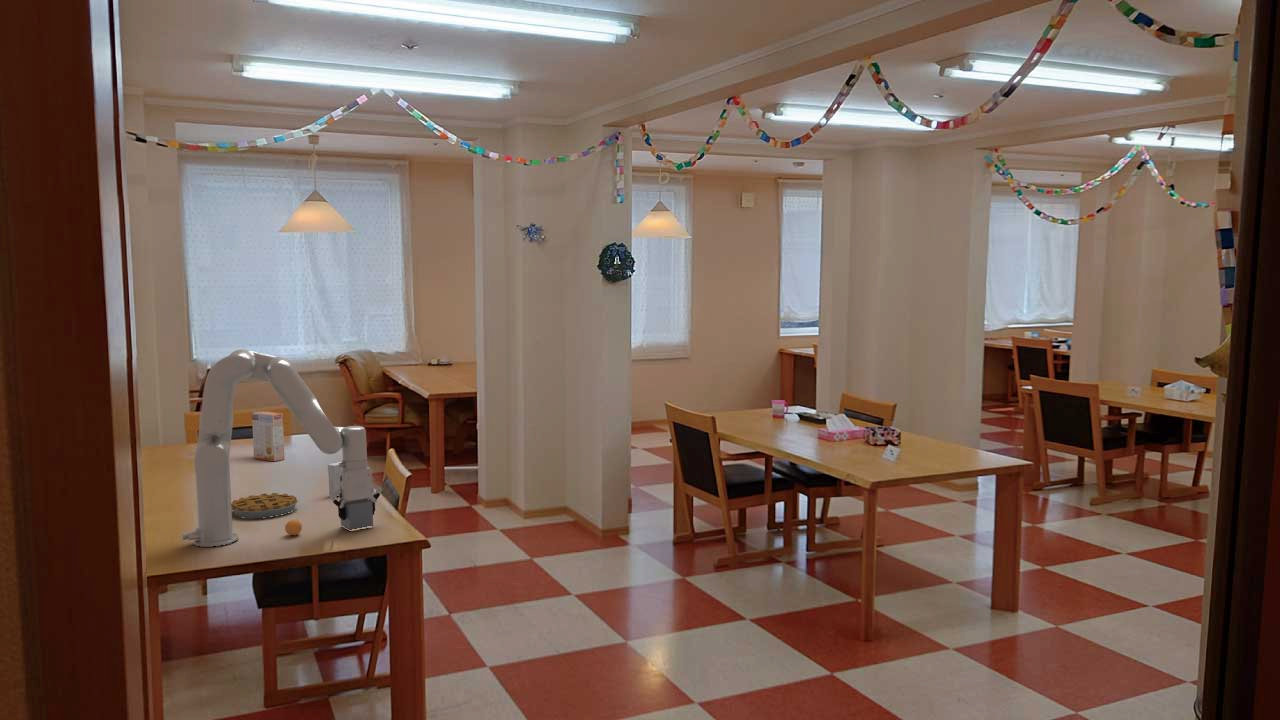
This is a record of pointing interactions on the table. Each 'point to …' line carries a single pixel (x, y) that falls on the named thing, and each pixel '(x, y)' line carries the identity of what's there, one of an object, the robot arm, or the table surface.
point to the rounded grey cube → (358, 514)
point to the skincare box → (334, 477)
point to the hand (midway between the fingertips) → (357, 516)
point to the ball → (293, 527)
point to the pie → (264, 505)
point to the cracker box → (268, 436)
